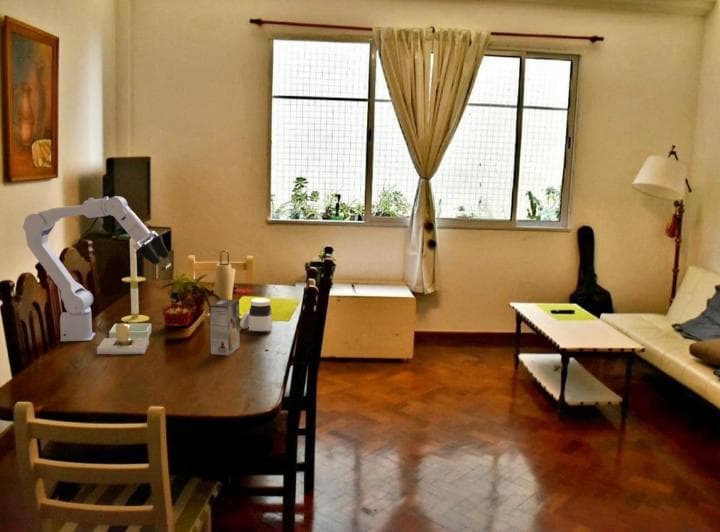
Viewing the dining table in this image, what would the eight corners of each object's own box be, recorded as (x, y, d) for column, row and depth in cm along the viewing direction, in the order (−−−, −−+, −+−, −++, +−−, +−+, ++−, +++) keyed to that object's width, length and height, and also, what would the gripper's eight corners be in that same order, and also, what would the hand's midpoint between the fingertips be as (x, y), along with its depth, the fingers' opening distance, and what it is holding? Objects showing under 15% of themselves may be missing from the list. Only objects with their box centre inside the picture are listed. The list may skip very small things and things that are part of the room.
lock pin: (116, 351, 212) (115, 326, 211) (118, 347, 216) (117, 323, 214) (129, 350, 213) (128, 326, 211) (131, 346, 217) (130, 323, 215)
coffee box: (221, 345, 221) (221, 298, 218) (240, 347, 220) (240, 299, 217) (210, 354, 212) (209, 304, 209) (229, 356, 211) (228, 306, 208)
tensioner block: (97, 354, 208) (96, 348, 207) (104, 344, 218) (104, 338, 218) (144, 353, 210) (143, 347, 210) (148, 343, 221) (148, 337, 220)
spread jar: (268, 336, 233) (269, 304, 231) (236, 335, 233) (236, 302, 231) (274, 327, 245) (274, 296, 243) (243, 326, 245) (243, 295, 243)
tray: (109, 341, 222) (109, 332, 221) (115, 332, 232) (114, 323, 231) (147, 340, 224) (147, 331, 223) (151, 331, 234) (151, 323, 233)
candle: (119, 317, 251) (116, 231, 245) (147, 314, 255) (145, 230, 249) (122, 323, 242) (119, 235, 236) (151, 321, 247) (148, 234, 241)
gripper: (134, 225, 210) (162, 259, 212) (152, 215, 224) (179, 247, 226) (118, 238, 212) (147, 271, 214) (137, 227, 226) (164, 259, 228)
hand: (162, 260), depth 220 cm, fingers open, 7 cm apart
